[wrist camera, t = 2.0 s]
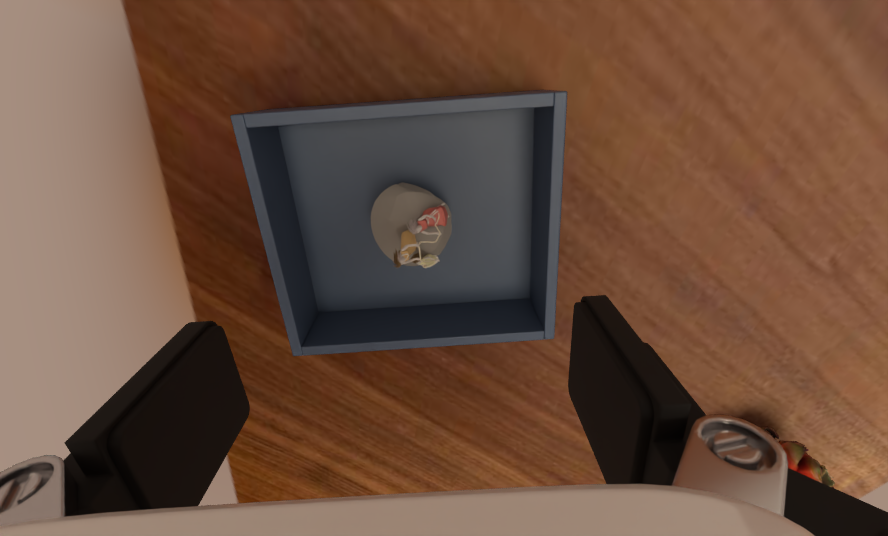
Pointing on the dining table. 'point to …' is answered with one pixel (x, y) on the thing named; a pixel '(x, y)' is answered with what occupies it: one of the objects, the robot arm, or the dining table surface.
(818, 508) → the robot arm
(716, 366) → the dining table surface
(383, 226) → the figurine
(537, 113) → the basket
